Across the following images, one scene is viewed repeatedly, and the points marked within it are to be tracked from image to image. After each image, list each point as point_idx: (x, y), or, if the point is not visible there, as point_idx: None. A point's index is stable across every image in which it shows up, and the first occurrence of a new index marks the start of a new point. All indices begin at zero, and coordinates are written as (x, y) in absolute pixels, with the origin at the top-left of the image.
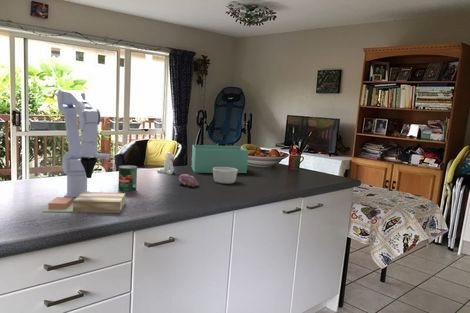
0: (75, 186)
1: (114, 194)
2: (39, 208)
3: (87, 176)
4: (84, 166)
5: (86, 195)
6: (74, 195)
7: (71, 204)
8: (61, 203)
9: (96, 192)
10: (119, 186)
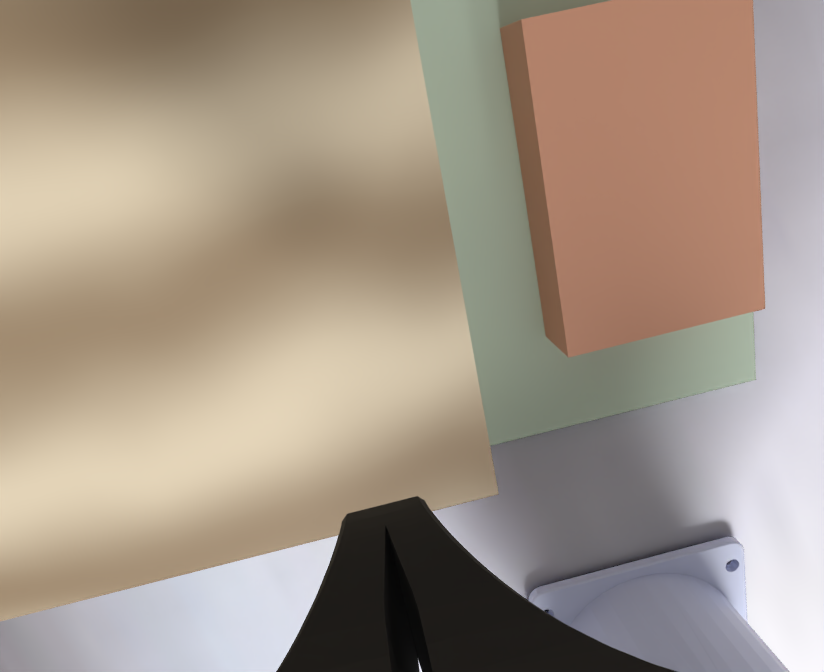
0: (681, 662)
1: (1, 517)
2: (817, 26)
3: (402, 510)
4: (529, 633)
5: (362, 327)
6: (638, 581)
7: (528, 255)
8: (584, 7)
9: (312, 531)
10: None
